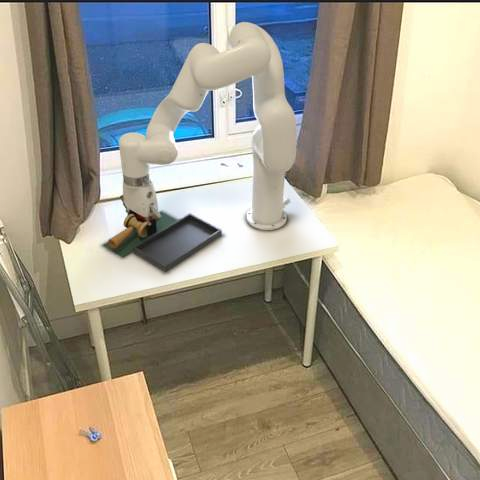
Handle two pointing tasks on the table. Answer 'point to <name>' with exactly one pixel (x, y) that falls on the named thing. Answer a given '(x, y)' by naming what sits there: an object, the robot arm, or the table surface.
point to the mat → (135, 239)
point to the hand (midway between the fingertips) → (142, 228)
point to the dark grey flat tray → (177, 242)
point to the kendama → (130, 229)
